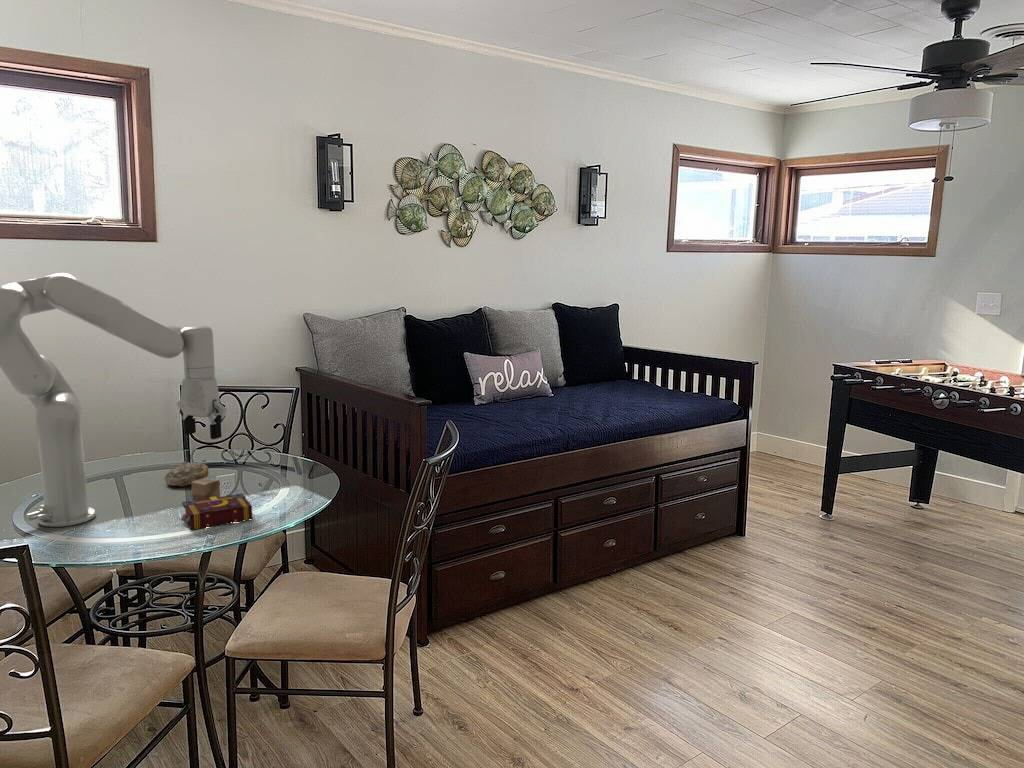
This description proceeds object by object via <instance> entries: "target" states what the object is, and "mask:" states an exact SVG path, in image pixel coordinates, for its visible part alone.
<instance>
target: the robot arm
mask: <svg viewBox="0 0 1024 768" xmlns="http://www.w3.org/2000/svg"><path fill="white" fill-rule="evenodd" d="M53 310H59V311H62V312H64V313H66V314H68V315H70V316H72V317H75V318H77V319H78V320H81V321H83V322H86V323H88V324H89V325H92V326H94V327H95V328H98V329H100V330H102V331H103V332H106V333H108V334H110V335H112V336H115V337H117V338H120V339H122V340H123V341H126V342H128V343H130V344H131V345H133V346H135V347H138V348H140V349H142V350H144V351H146V352H149V353H151V354H153V355H155V356H157V357H160V358H163V359H173V358H176V357H178V356H180V354H181V353H182V355H183V371H184V372H183V374H184V377H183V378H182V382H181V391H180V392H181V393H180V400H179V401H177V403H176V405H177V407H178V409H179V414H180V415H181V416H182V417H181V418H182V420H183V425H184V435H186V436H189V435H192V434H195V433H196V432H197V428H196V418H194V417H197V418H208V419H209V420H208V421H209V422H210V423H211V424H209V435H210V437H209V438H210V440H216V439H220V438H222V435H223V434H222V423H223V421H224V419H225V418H226V414H227V408H226V407H225V406H224V405H223V404H222V403H220V394H219V393H220V391H219V387H218V382H217V378H216V370H215V350H214V349H215V347H214V333H213V329H212V328H211V327H209V326H205V325H196V326H194V325H192V326H185V327H183V326H174V325H173V326H171V325H163V324H161V323H159V322H158V321H155V320H153V319H151V318H149V317H146V316H145V315H143V314H141V313H140V312H138V311H136V310H135V309H134V308H132V307H131V306H130V305H128V304H127V303H125V302H124V301H122V300H121V299H119V298H116V297H114V296H112V295H110V294H108V293H106V292H103V291H102V290H100V289H98V288H95V287H93V286H92V285H90V284H87V283H85V282H83V281H81V280H79V279H78V278H77V277H75V276H74V275H72V274H70V273H66V272H60V273H59V272H57V273H53V274H50V275H46V276H41V277H37V278H31V279H26V280H25V279H24V280H21V281H16V282H11V283H5V284H3V285H0V369H1V371H2V372H3V374H4V375H5V377H6V378H7V379H8V381H9V382H10V384H11V386H12V387H13V389H14V390H15V391H16V393H18V394H20V395H23V396H24V397H27V399H28V400H29V402H30V403H31V404H32V406H33V407H34V408H35V410H36V412H35V429H36V435H37V445H38V454H39V461H40V462H39V463H40V471H41V482H42V495H43V504H40V505H39V508H38V509H37V510H36V511H31V512H28V513H25V514H24V520H25V522H31V521H35V520H37V521H38V524H39V525H41V526H44V527H48V526H49V527H51V528H52V527H53V528H57V527H58V528H61V527H69V526H74V525H75V526H76V525H79V524H83V523H86V522H89V521H90V520H92V519H94V518H95V516H96V510H95V508H93V507H89V506H88V504H89V503H88V491H87V490H88V489H87V480H86V479H87V477H86V467H85V455H84V444H83V443H84V442H83V432H82V431H83V430H82V405H81V402H80V400H79V398H78V396H77V395H76V393H75V392H74V390H73V389H72V387H71V386H70V384H69V383H68V382H67V380H66V379H65V377H64V376H63V375H62V373H61V371H60V370H59V369H58V367H57V366H56V365H55V363H54V362H53V360H51V359H50V358H48V357H46V356H45V355H43V354H40V353H39V352H38V350H37V349H36V348H35V346H34V345H33V343H32V341H31V340H30V338H29V337H28V336H27V334H26V333H25V332H24V330H23V328H22V326H21V320H22V319H23V318H24V317H27V316H29V315H34V314H40V313H45V312H48V311H53Z"/></svg>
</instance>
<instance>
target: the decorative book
mask: <svg viewBox="0 0 1024 768" xmlns="http://www.w3.org/2000/svg"><path fill="white" fill-rule="evenodd" d="M181 503H182V504H181V505H182V507H183V508H184V511H185V512H184V513H185V514H184V513H183V514H182V516H181V518H180V521H184V522H185V524H186V525H188V526H189V529H190V530H192V529H193V530H199V529H204V528H206V527H212V526H213V527H217V526H216V525H218V526H222V525H221V524H224V525H227V524H226V523H231V522H232V523H233V522H240V521H243V520H249V519H252V520H253V511H252V510H253V507H252V504H251V503H250V502H249V501H248V499H247V498H246V495H245V494H244V493H243V492H242V493H233V494H228V495H226V496H225V495H224V496H220V497H218V498H217V497H216V496H215V497H210V499H204V500H192V499H191V500H183V501H182V502H181ZM249 521H250V520H249ZM243 522H244V521H243ZM240 523H241V522H240ZM198 528H199V529H198Z"/></svg>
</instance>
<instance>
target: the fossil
mask: <svg viewBox="0 0 1024 768" xmlns="http://www.w3.org/2000/svg"><path fill="white" fill-rule="evenodd" d="M209 469H210V468H209V466H208V465H207V464H205V463H197V462H189V461H183V462H182V463H181V465H180V466H177V467H174V468H173V469H170V470H169V471H168V472H167V473H166V474H165V476H164V481H165V482H166V484H167V485H169V486H178V487H181V488H182V487H187V486H191V482H193V481H196V480H199V479H203V478H206V477H207V478H208V477H209V474H210V473H209Z"/></svg>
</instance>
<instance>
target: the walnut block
mask: <svg viewBox="0 0 1024 768" xmlns="http://www.w3.org/2000/svg"><path fill="white" fill-rule="evenodd" d="M190 486H191V500H204V499H210V497H215V496H216V497H217V498H218V497H221V492H220V491H221V489H220V488H221V487H220V486H221V485H220V479H215V478H211V477H208V476H207V477H206V478H203V479H199V480H196V481H193V482H191V484H190Z"/></svg>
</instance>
